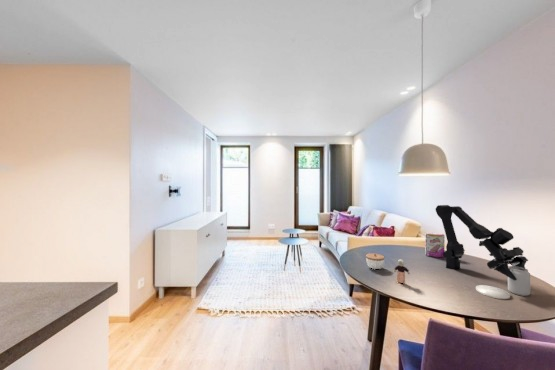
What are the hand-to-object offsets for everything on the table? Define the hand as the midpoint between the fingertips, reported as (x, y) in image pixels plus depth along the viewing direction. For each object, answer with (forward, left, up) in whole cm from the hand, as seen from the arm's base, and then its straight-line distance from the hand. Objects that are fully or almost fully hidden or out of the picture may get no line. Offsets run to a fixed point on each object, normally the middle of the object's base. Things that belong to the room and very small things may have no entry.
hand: (522, 279), depth 107 cm
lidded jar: (-65, -5, -7) cm, 66 cm away
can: (-1, +1, -7) cm, 7 cm away
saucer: (-11, -6, -7) cm, 14 cm away
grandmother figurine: (-48, -19, -7) cm, 52 cm away
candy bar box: (-36, +43, -7) cm, 57 cm away
